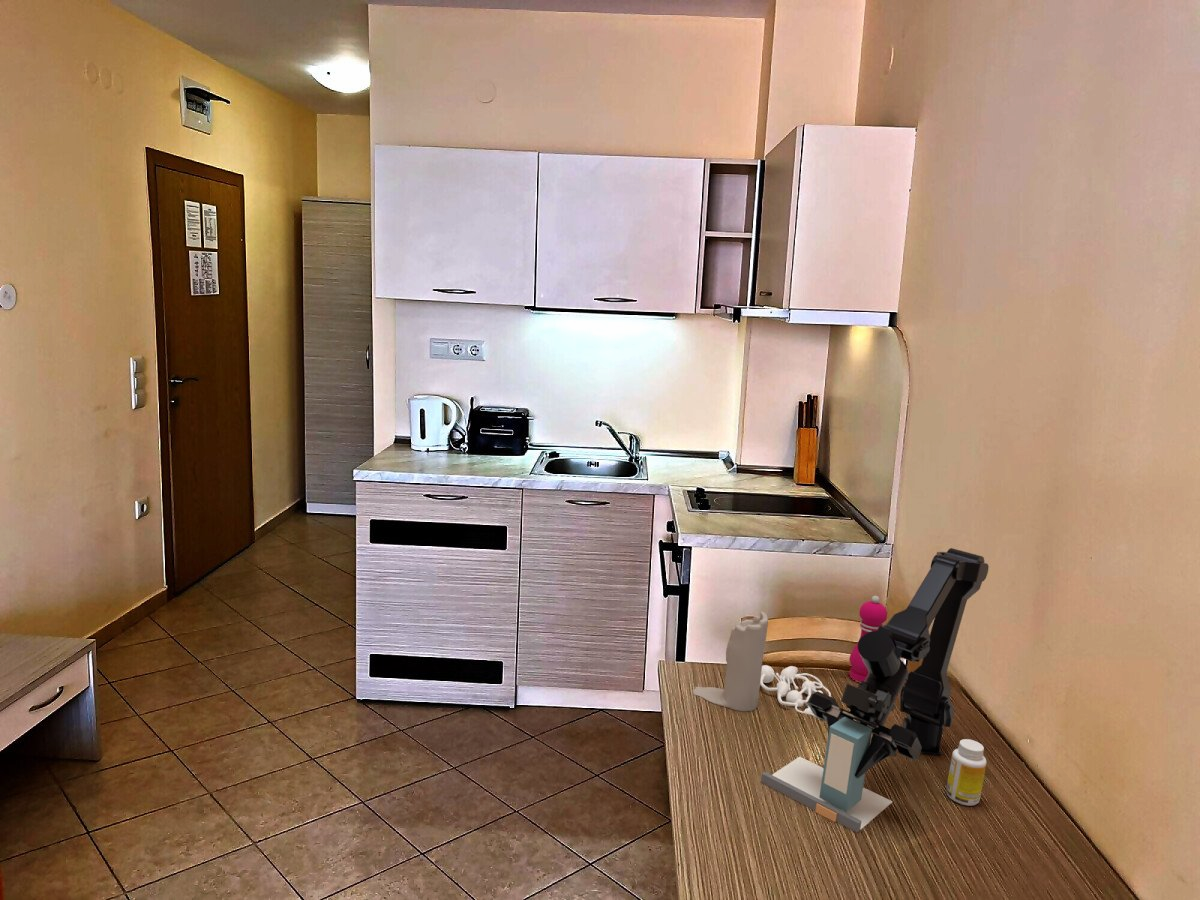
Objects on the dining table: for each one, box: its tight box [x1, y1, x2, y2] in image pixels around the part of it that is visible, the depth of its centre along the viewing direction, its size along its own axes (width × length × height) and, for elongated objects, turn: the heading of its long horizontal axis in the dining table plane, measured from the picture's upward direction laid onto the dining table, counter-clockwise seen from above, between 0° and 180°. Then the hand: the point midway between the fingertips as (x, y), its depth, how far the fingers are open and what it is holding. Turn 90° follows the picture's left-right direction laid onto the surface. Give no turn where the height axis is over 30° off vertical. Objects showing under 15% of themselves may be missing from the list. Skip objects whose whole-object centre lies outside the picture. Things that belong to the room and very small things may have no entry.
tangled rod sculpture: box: [760, 664, 832, 720], centre depth 185 cm, size 19×14×4 cm
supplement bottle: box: [945, 738, 987, 807], centre depth 152 cm, size 6×6×10 cm
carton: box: [819, 717, 872, 812], centre depth 143 cm, size 5×5×13 cm
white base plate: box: [760, 756, 893, 833], centre depth 148 cm, size 13×18×3 cm
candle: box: [692, 611, 769, 712], centre depth 180 cm, size 7×14×20 cm, turn 65°
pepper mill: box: [848, 595, 888, 682], centre depth 195 cm, size 7×7×20 cm
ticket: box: [814, 803, 837, 823], centre depth 141 cm, size 1×4×2 cm, turn 46°
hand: (841, 769), depth 142 cm, fingers closed on carton, 5 cm apart
